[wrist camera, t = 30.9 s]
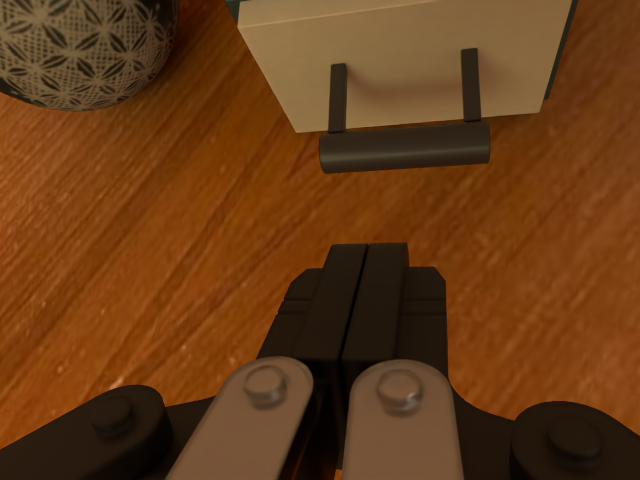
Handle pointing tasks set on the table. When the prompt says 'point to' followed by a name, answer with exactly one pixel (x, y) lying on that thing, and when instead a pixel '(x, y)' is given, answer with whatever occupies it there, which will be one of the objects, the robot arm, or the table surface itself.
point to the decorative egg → (83, 50)
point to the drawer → (403, 72)
